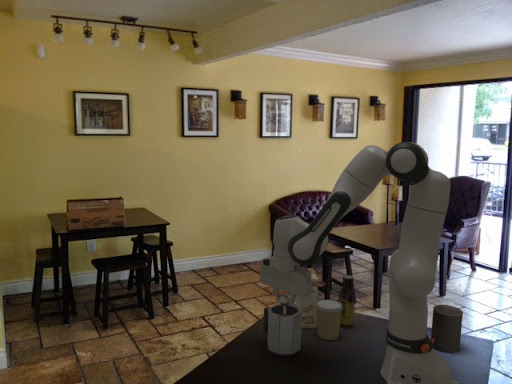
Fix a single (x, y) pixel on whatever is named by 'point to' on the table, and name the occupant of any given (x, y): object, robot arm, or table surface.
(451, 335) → the pillar candle
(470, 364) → the table surface
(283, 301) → the plunger
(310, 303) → the coffeecake box
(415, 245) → the robot arm
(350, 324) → the sauce bottle
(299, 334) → the press pot
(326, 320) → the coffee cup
